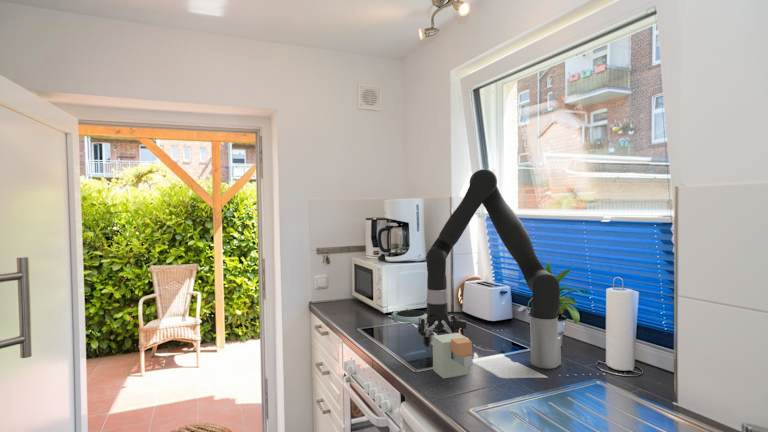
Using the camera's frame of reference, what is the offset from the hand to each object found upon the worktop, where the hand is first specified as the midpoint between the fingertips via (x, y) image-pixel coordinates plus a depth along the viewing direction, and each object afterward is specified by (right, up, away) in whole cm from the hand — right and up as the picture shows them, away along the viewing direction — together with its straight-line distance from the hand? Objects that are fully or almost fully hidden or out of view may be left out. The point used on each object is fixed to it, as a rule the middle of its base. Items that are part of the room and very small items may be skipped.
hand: (437, 345), depth 158 cm
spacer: (+6, +2, -17) cm, 18 cm away
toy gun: (+8, -6, +45) cm, 46 cm away
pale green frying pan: (-8, -6, +67) cm, 68 cm away
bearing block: (+4, -7, -9) cm, 12 cm away
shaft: (+3, -1, -8) cm, 8 cm away
